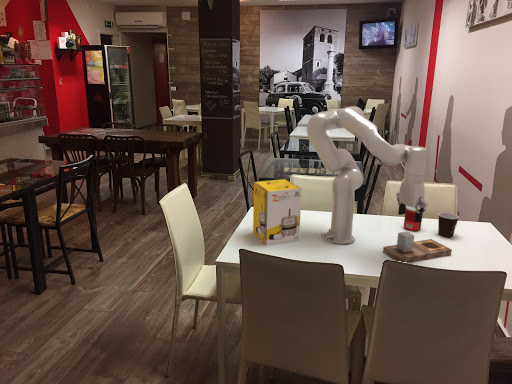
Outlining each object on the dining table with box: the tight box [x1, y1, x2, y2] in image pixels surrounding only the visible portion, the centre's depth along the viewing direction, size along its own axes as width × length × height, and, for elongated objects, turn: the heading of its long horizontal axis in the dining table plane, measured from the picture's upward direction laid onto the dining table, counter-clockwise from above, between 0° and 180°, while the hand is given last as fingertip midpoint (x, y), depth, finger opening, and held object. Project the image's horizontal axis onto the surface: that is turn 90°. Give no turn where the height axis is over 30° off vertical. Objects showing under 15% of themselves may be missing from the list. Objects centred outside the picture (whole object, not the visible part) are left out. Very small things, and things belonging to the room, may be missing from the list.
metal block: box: [396, 231, 415, 254], centre depth 175 cm, size 4×4×10 cm
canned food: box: [403, 205, 423, 232], centre depth 205 cm, size 8×8×11 cm
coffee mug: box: [437, 212, 459, 239], centre depth 198 cm, size 12×9×10 cm
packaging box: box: [252, 178, 303, 246], centre depth 191 cm, size 16×16×25 cm
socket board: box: [382, 238, 453, 264], centre depth 178 cm, size 26×12×3 cm, turn 111°
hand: (409, 217), depth 171 cm, fingers open, 9 cm apart
